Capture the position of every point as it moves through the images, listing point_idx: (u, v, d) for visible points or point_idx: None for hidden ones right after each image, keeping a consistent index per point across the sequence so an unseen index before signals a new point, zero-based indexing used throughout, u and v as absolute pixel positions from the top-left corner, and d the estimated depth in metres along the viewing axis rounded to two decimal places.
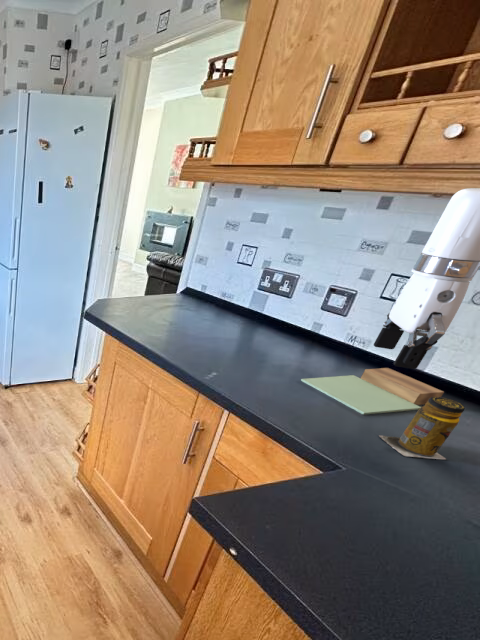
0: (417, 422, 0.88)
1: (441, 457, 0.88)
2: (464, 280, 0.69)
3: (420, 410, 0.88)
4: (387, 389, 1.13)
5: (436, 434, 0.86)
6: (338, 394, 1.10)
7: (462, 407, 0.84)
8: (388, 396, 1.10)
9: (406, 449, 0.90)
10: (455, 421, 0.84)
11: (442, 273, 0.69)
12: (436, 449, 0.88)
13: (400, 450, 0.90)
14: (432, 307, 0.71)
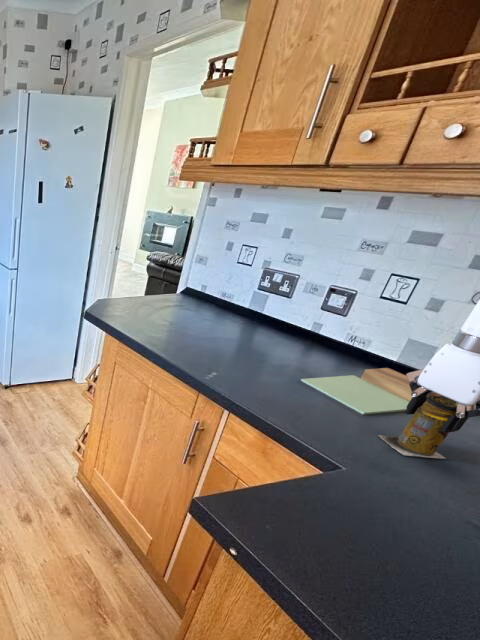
0: (416, 422, 0.88)
1: (440, 456, 0.88)
2: None
3: (418, 409, 0.88)
4: (387, 389, 1.13)
5: (435, 433, 0.86)
6: (338, 394, 1.10)
7: None
8: (388, 396, 1.10)
9: (405, 448, 0.90)
10: None
11: None
12: (435, 448, 0.88)
13: (399, 449, 0.90)
14: None
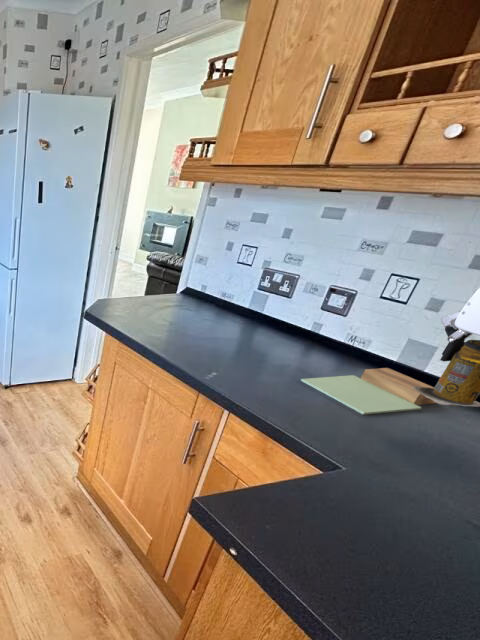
0: (453, 368, 0.82)
1: None
2: None
3: (456, 355, 0.82)
4: (387, 389, 1.13)
5: (475, 379, 0.80)
6: (338, 394, 1.10)
7: None
8: (388, 396, 1.10)
9: (442, 398, 0.84)
10: None
11: None
12: (475, 396, 0.82)
13: (435, 399, 0.84)
14: None
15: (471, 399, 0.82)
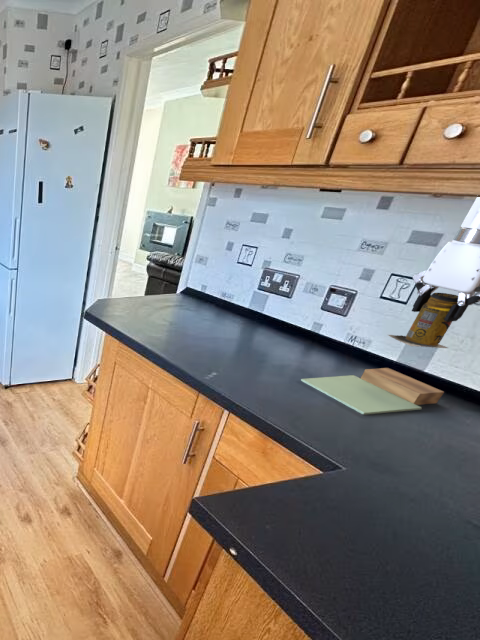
0: (421, 316, 1.00)
1: (443, 347, 1.00)
2: None
3: (424, 305, 1.00)
4: (387, 389, 1.13)
5: (439, 324, 0.97)
6: (338, 394, 1.10)
7: None
8: (388, 396, 1.10)
9: (412, 342, 1.02)
10: None
11: None
12: (439, 339, 0.99)
13: (407, 342, 1.02)
14: None
15: (436, 342, 0.99)
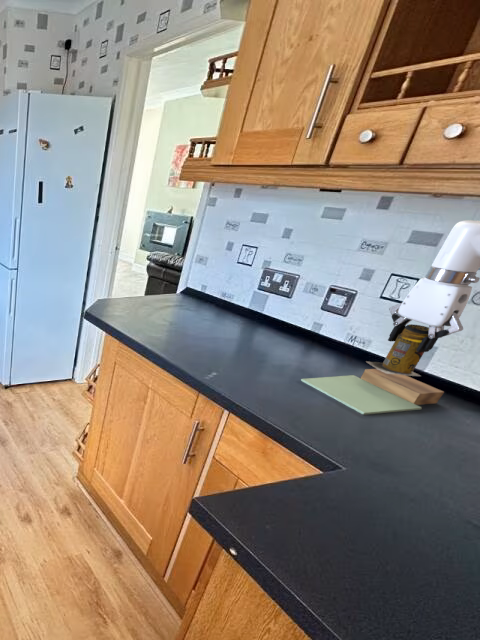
0: (396, 346, 1.07)
1: (417, 374, 1.07)
2: None
3: (399, 336, 1.07)
4: (387, 389, 1.13)
5: (412, 354, 1.05)
6: (338, 394, 1.10)
7: None
8: (388, 396, 1.10)
9: (388, 370, 1.09)
10: None
11: (459, 282, 0.95)
12: (412, 367, 1.06)
13: (383, 370, 1.09)
14: (455, 307, 0.96)
15: (409, 370, 1.07)
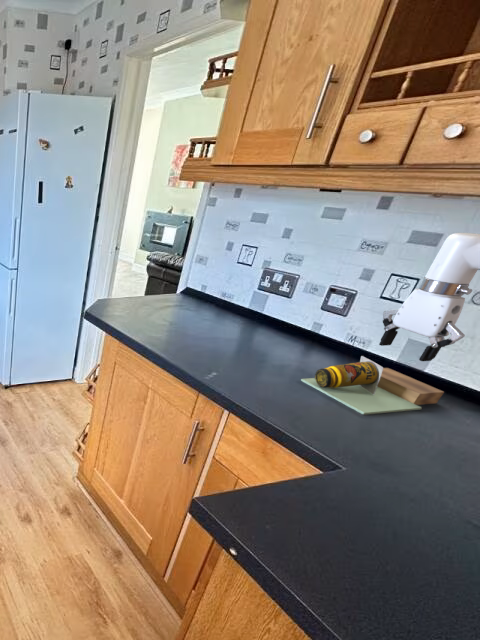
0: None
1: (380, 368, 1.07)
2: None
3: None
4: (387, 389, 1.13)
5: (352, 383, 1.10)
6: (338, 394, 1.10)
7: (326, 376, 1.11)
8: (388, 396, 1.10)
9: None
10: (340, 379, 1.10)
11: (452, 294, 0.96)
12: (370, 375, 1.09)
13: (369, 388, 1.12)
14: (448, 318, 0.98)
15: (373, 376, 1.09)
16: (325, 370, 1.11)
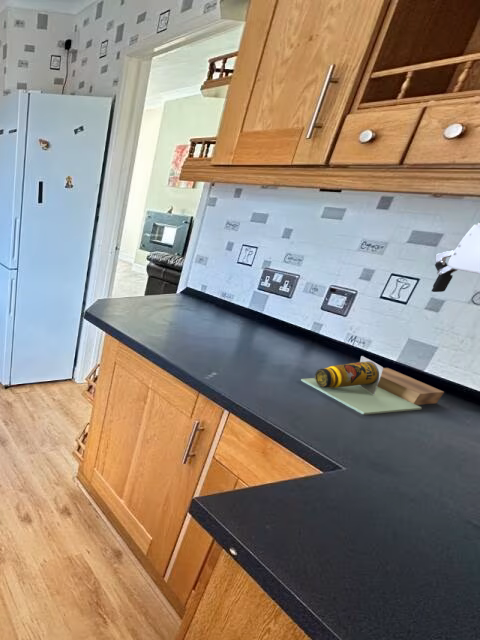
0: None
1: (380, 368, 1.07)
2: None
3: None
4: (387, 389, 1.13)
5: (352, 383, 1.10)
6: (338, 394, 1.10)
7: (326, 376, 1.11)
8: (388, 396, 1.10)
9: None
10: (340, 379, 1.10)
11: None
12: (370, 375, 1.09)
13: (369, 388, 1.12)
14: None
15: (373, 376, 1.09)
16: (325, 370, 1.11)
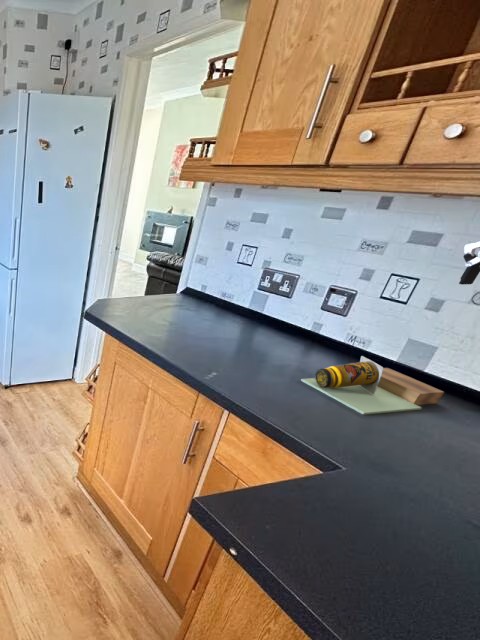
0: None
1: (380, 368, 1.07)
2: None
3: None
4: (387, 389, 1.13)
5: (352, 383, 1.10)
6: (338, 394, 1.10)
7: (326, 376, 1.11)
8: (388, 396, 1.10)
9: None
10: (340, 379, 1.10)
11: None
12: (370, 375, 1.09)
13: (369, 388, 1.12)
14: None
15: (373, 376, 1.09)
16: (325, 370, 1.11)
